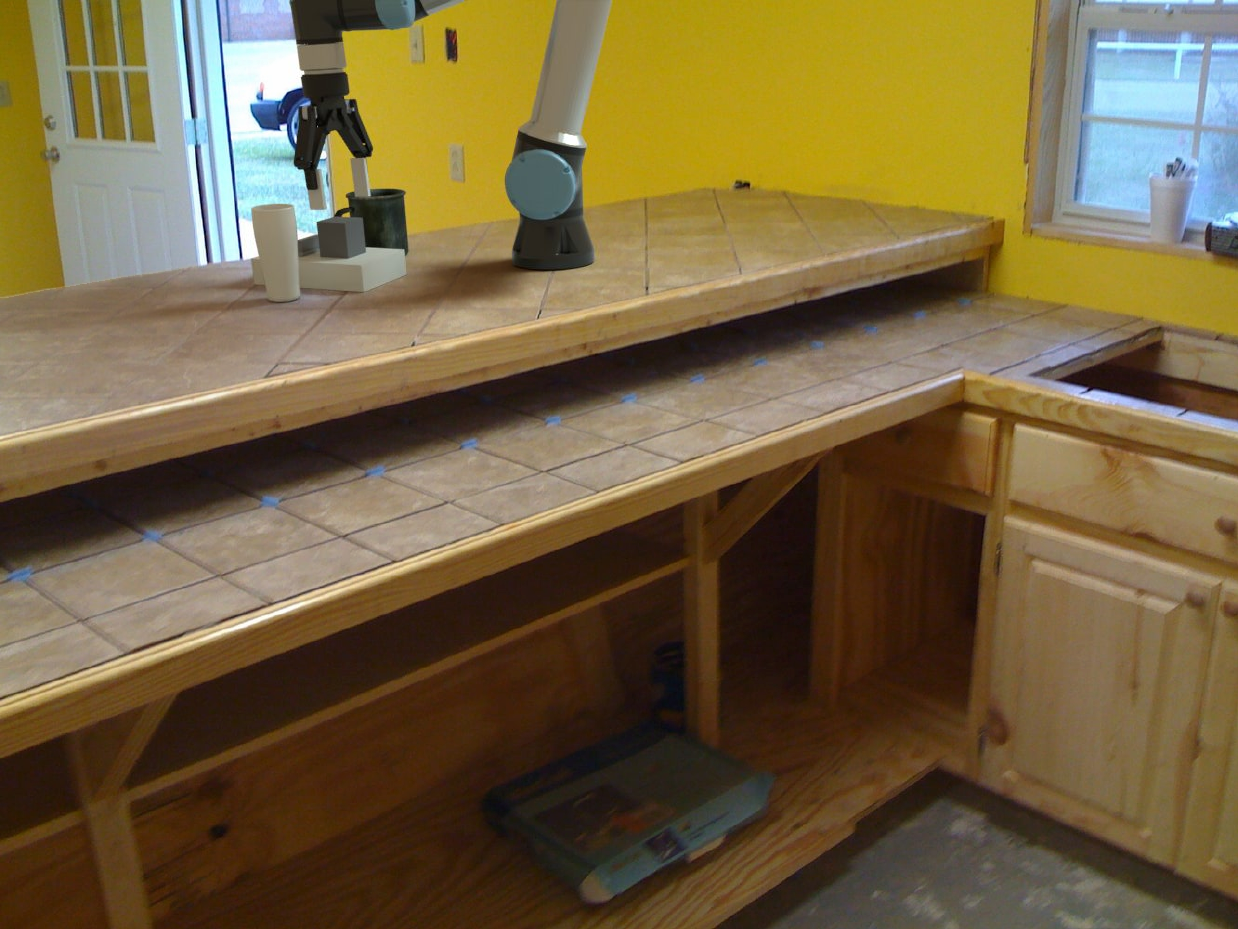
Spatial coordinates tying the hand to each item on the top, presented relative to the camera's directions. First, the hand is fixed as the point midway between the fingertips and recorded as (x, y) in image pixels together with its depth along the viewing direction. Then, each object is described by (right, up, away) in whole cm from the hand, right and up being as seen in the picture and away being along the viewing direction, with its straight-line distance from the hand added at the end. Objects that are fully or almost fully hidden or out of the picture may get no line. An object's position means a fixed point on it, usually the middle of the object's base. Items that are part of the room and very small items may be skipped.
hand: (341, 202), depth 202 cm
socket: (-3, -12, +6) cm, 14 cm away
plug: (0, -12, +5) cm, 13 cm away
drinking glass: (-8, -18, -7) cm, 21 cm away
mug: (+1, -5, +24) cm, 24 cm away
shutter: (-9, -7, +6) cm, 13 cm away
